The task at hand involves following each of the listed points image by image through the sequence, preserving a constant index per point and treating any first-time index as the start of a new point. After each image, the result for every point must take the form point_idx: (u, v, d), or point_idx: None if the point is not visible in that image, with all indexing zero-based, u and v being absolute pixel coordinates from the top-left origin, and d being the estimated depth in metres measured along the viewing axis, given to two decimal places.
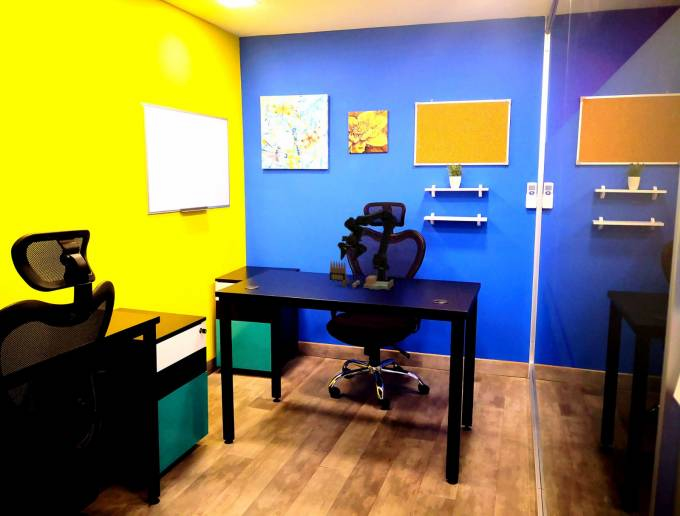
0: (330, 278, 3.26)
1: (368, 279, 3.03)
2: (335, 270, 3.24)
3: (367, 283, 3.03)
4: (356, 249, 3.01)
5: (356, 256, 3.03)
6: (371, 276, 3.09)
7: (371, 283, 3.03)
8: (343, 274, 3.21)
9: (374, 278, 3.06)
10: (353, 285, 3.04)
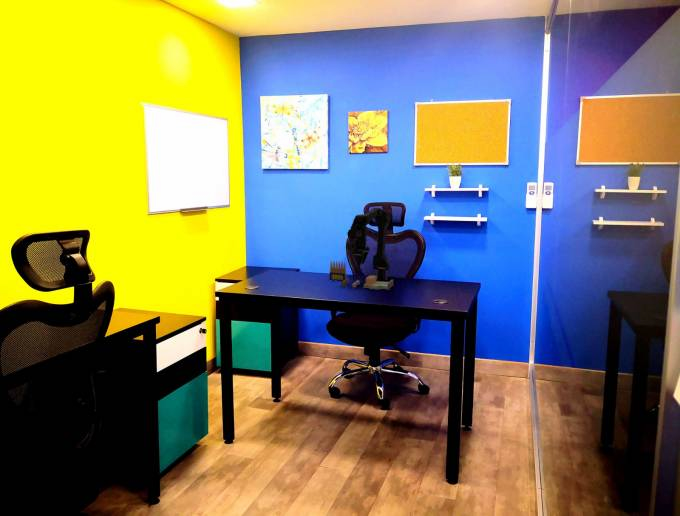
0: (330, 278, 3.26)
1: (368, 279, 3.03)
2: (335, 270, 3.24)
3: (367, 283, 3.03)
4: (354, 255, 3.02)
5: (359, 261, 3.02)
6: (371, 276, 3.09)
7: (371, 283, 3.03)
8: (343, 274, 3.21)
9: (374, 278, 3.06)
10: (353, 285, 3.04)
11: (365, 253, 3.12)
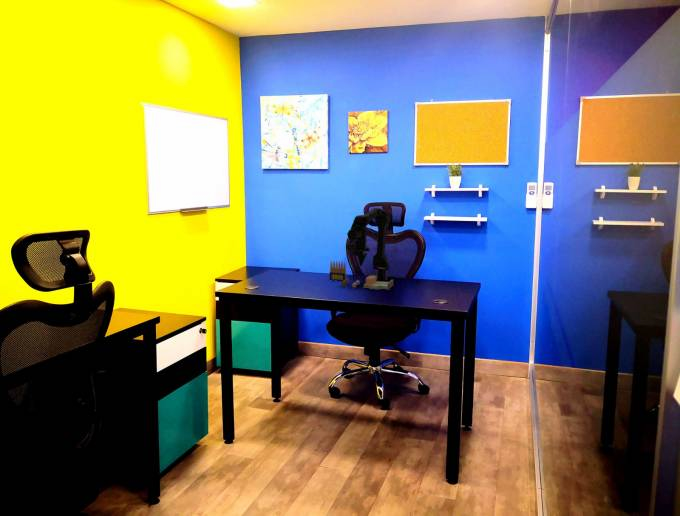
0: (330, 278, 3.26)
1: (368, 279, 3.03)
2: (335, 270, 3.24)
3: (367, 283, 3.03)
4: (356, 255, 3.06)
5: (360, 260, 3.06)
6: (371, 276, 3.09)
7: (371, 283, 3.03)
8: (343, 274, 3.21)
9: (374, 278, 3.06)
10: (353, 285, 3.04)
11: None
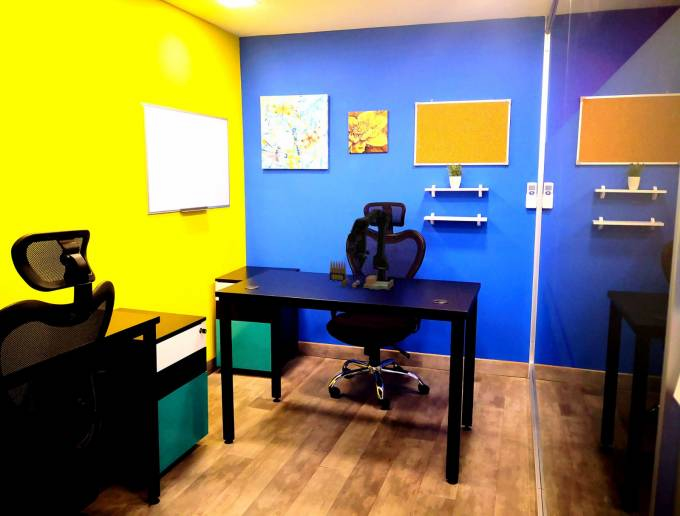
0: (330, 278, 3.26)
1: (368, 279, 3.03)
2: (335, 270, 3.24)
3: (367, 283, 3.03)
4: (356, 258, 3.06)
5: (361, 263, 3.07)
6: (371, 276, 3.09)
7: (371, 283, 3.03)
8: (343, 274, 3.21)
9: (374, 278, 3.06)
10: (353, 285, 3.04)
11: None
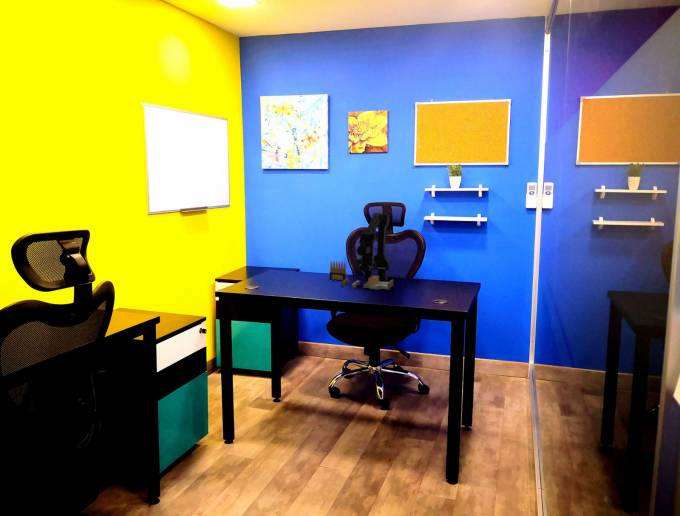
0: (330, 278, 3.26)
1: (370, 279, 3.02)
2: (335, 270, 3.24)
3: (369, 283, 3.03)
4: (362, 270, 3.06)
5: (367, 275, 3.06)
6: (373, 276, 3.09)
7: (373, 283, 3.02)
8: (343, 274, 3.21)
9: (376, 278, 3.06)
10: (353, 285, 3.04)
11: None
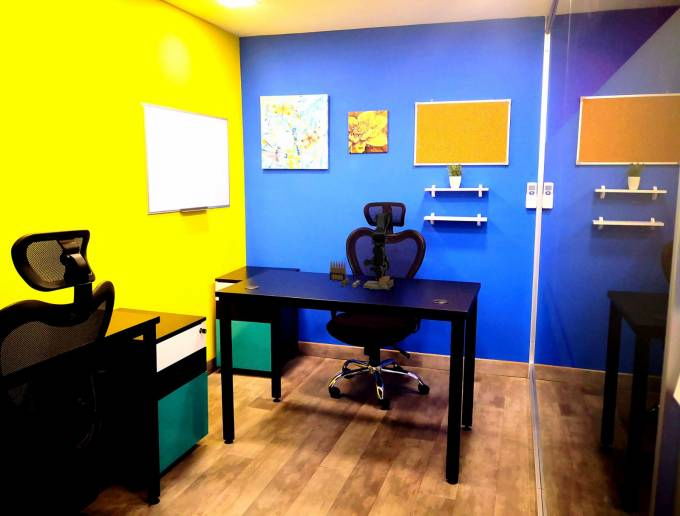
0: (330, 278, 3.26)
1: (381, 280, 3.01)
2: (335, 270, 3.24)
3: (380, 284, 3.01)
4: None
5: (378, 276, 3.05)
6: (384, 277, 3.07)
7: (384, 284, 3.00)
8: (343, 274, 3.21)
9: (387, 279, 3.04)
10: (353, 285, 3.04)
11: (381, 270, 3.06)
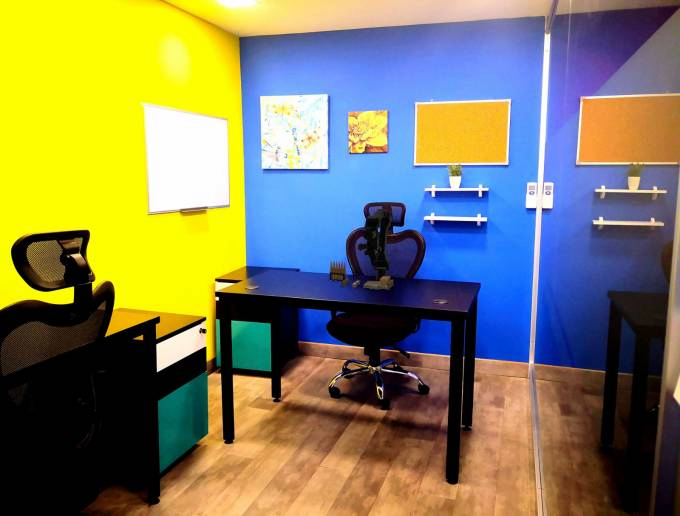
0: (330, 278, 3.26)
1: (382, 280, 3.00)
2: (335, 270, 3.24)
3: (381, 284, 3.01)
4: None
5: (372, 260, 3.08)
6: (385, 277, 3.07)
7: (385, 284, 3.00)
8: (343, 274, 3.21)
9: (388, 279, 3.04)
10: (353, 285, 3.04)
11: (375, 254, 3.09)
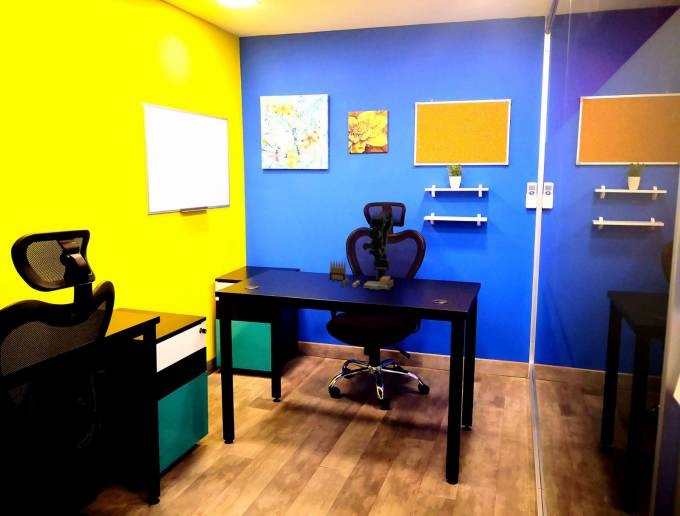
0: (330, 278, 3.26)
1: (382, 280, 3.00)
2: (335, 270, 3.24)
3: (381, 284, 3.01)
4: (372, 254, 3.13)
5: (377, 259, 3.13)
6: (385, 277, 3.07)
7: (385, 284, 3.00)
8: (343, 274, 3.21)
9: (388, 279, 3.04)
10: (353, 285, 3.04)
11: None
